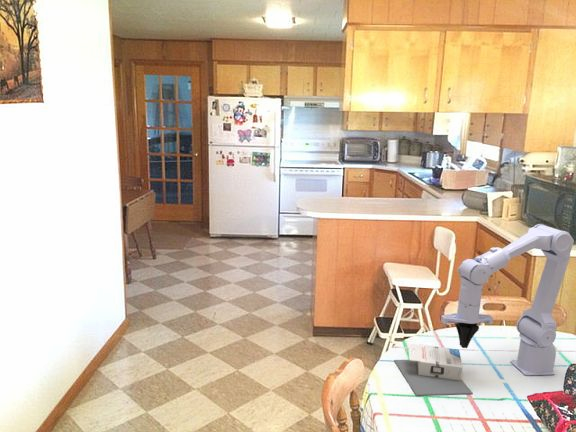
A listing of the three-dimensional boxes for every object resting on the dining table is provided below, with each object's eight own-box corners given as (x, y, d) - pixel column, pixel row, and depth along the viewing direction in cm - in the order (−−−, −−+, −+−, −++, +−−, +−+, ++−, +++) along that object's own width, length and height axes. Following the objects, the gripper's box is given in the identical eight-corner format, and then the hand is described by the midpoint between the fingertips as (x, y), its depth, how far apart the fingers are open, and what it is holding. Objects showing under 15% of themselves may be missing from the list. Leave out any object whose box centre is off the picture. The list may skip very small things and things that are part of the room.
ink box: (457, 362, 140) (406, 355, 143) (459, 348, 138) (408, 342, 141) (460, 381, 132) (407, 373, 135) (463, 367, 130) (409, 359, 133)
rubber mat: (443, 360, 144) (444, 358, 144) (472, 394, 126) (472, 392, 126) (394, 361, 142) (394, 359, 142) (416, 396, 125) (416, 394, 124)
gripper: (486, 296, 135) (480, 339, 138) (438, 296, 133) (433, 340, 136) (499, 306, 128) (493, 351, 131) (449, 306, 126) (444, 352, 129)
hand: (463, 346), depth 133 cm, fingers closed
